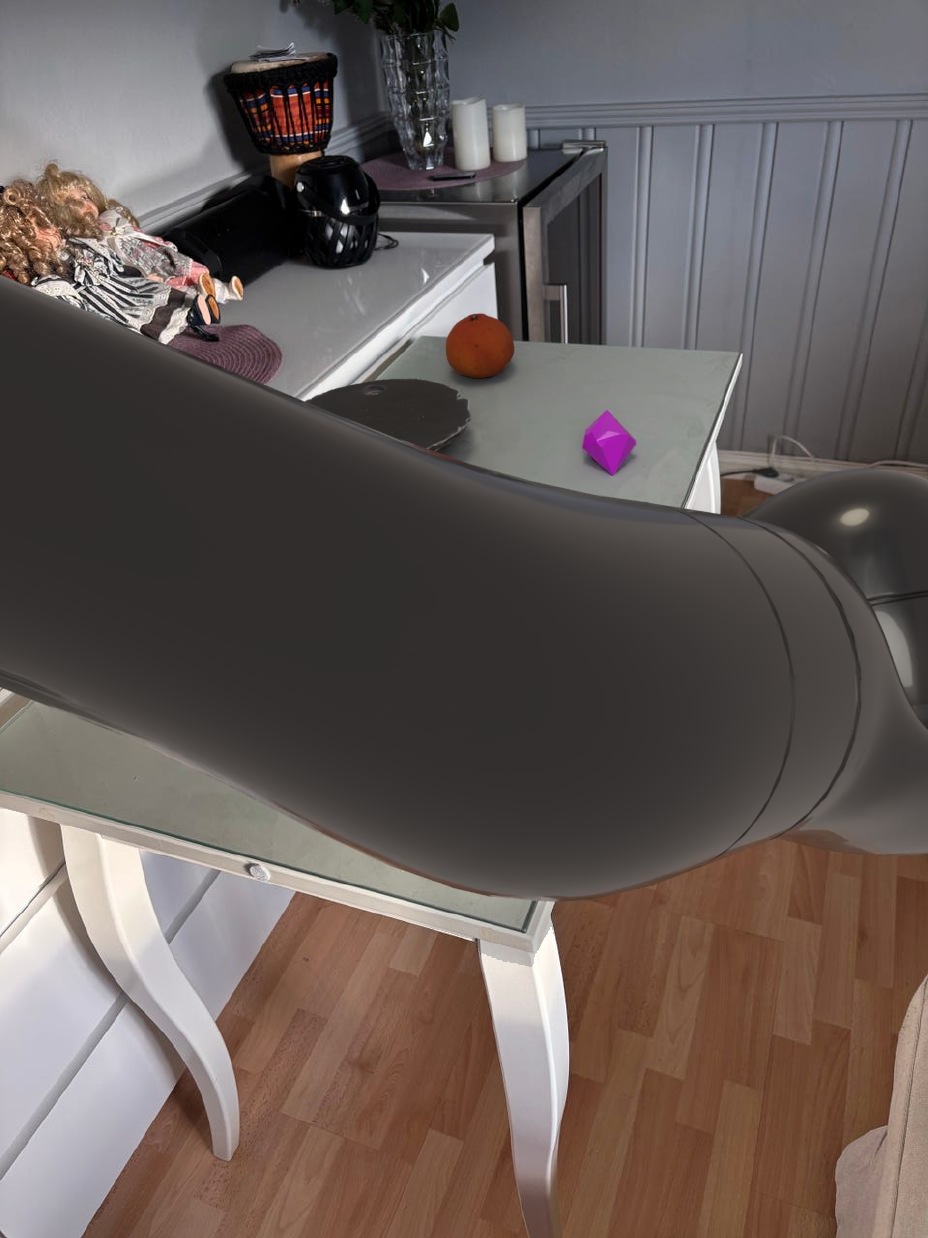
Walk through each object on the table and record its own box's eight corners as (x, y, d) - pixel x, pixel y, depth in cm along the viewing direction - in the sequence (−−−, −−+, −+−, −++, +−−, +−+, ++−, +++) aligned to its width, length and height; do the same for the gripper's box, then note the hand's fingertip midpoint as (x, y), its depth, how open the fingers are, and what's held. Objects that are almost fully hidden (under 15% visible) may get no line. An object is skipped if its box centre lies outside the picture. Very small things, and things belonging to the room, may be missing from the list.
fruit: (441, 388, 120) (434, 329, 115) (459, 359, 127) (453, 302, 121) (506, 390, 118) (502, 330, 113) (521, 361, 124) (518, 303, 119)
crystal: (576, 461, 102) (575, 424, 99) (610, 443, 104) (610, 406, 101) (609, 477, 99) (610, 439, 96) (644, 458, 101) (645, 421, 98)
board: (344, 403, 119) (337, 366, 116) (501, 417, 112) (498, 378, 109) (256, 490, 104) (245, 450, 101) (431, 513, 96) (426, 471, 93)
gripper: (504, 881, 38) (402, 864, 53) (746, 724, 43) (591, 749, 58) (421, 720, 38) (343, 748, 53) (672, 584, 44) (537, 645, 58)
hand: (473, 749), depth 56 cm, fingers open, 8 cm apart
